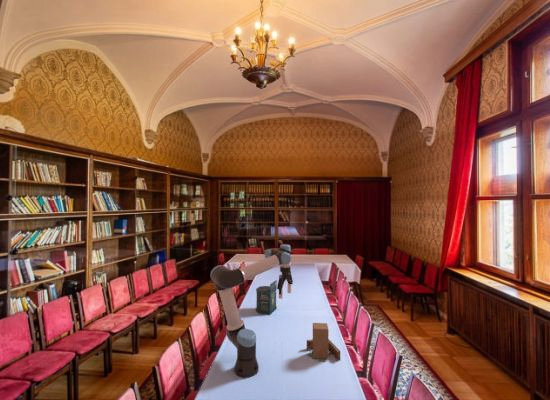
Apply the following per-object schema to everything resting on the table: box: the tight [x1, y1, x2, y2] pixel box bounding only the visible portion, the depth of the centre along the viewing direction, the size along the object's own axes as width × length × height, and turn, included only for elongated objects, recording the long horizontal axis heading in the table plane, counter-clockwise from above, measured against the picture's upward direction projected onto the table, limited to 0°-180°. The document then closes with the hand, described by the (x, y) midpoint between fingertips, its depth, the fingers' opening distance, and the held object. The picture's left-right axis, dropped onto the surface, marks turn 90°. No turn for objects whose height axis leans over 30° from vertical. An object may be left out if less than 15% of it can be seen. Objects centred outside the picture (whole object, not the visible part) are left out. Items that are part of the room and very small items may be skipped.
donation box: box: [255, 279, 278, 316], centre depth 283 cm, size 16×16×28 cm
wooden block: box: [312, 322, 329, 360], centre depth 204 cm, size 10×10×20 cm
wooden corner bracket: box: [306, 338, 341, 361], centre depth 206 cm, size 16×20×6 cm
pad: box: [307, 350, 332, 363], centre depth 204 cm, size 12×12×1 cm
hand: (285, 295), depth 216 cm, fingers open, 13 cm apart
